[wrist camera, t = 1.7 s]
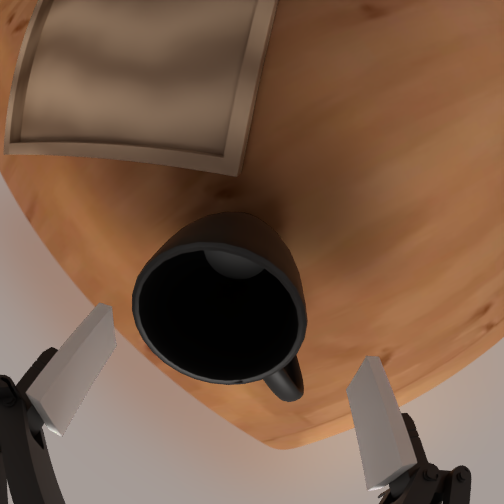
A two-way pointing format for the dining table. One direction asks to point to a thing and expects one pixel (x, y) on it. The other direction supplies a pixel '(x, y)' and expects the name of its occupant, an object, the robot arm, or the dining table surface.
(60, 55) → the tray
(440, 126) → the dining table surface
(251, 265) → the mug
